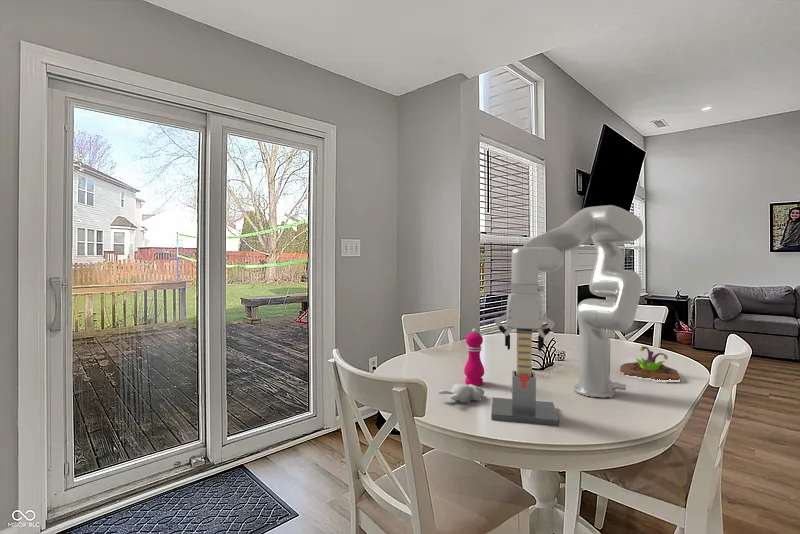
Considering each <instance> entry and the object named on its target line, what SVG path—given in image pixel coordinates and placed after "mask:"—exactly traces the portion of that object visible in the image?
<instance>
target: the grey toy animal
mask: <svg viewBox="0 0 800 534" xmlns="http://www.w3.org/2000/svg"><path fill="white" fill-rule="evenodd" d="M438 394H439V395H449V397H450V399H451V400H453V401H455V400H456V402H457V401H459V403H460V404H464V403H466V404H467V403H470V401H480V400H481V399H482V398H483V396H485V390H484V389H483V388H482V387H481V386H474V385H472V384H469V385H467V384H463V383H455V384H453V386H452V388H451V389H439V390H438Z"/></svg>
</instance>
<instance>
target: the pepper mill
mask: <svg viewBox="0 0 800 534" xmlns="http://www.w3.org/2000/svg"><path fill="white" fill-rule="evenodd" d="M483 341H484V339H483V336H482V334H481V333H479V332H478V329H477V328H472V330H471V332H469V333H468V334H467V335H466V337H465V342H466V344H467V346H466V347H467V348H466V349H467V351H468V358H467V361H466V363H465V366H464V368H463V372H464V375H465V376H466V377H465V379H464V380H465V385H467V384H468V385H469V384H472V385H474V386H477V387H481V386H482V385H484V378H483V376H484V375H485V367H484V365H483V363H482V360H481V356H480V355H481V351H482V344H483Z"/></svg>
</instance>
